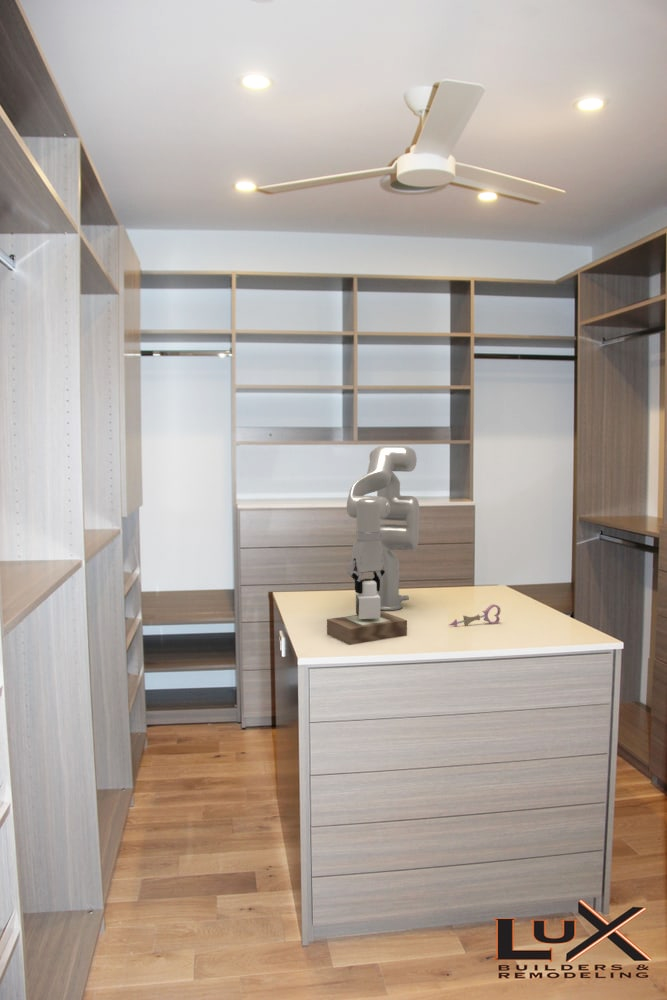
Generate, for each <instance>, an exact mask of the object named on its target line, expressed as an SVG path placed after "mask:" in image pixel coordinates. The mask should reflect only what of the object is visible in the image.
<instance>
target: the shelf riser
mask: <svg viewBox="0 0 667 1000" xmlns="http://www.w3.org/2000/svg"><path fill="white" fill-rule="evenodd" d="M326 635H327V636H330V637H332V638H335V639H336V640H339V641H341V642H343V643H346V644H348V645H356V644H362V643H368V642H375V641H380V640H388V639H393V638H398V637H399V638H400V637H404V636H407V635H408V620H407V619H404V618H402V617H399V616H396V615H394V614H390V613H387V612H386V611H384V610H381V611H380V619H358V616H357V614H354V615H348V616H339V617H334V618H333V617H332V618H327V619H326Z"/></svg>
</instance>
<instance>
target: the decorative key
mask: <svg viewBox="0 0 667 1000" xmlns="http://www.w3.org/2000/svg"><path fill="white" fill-rule="evenodd" d="M500 607H501V606H498V605H497V604H495V603H494V604H490V605H489V606H488V607H487V608H485V609H484V610H483V611H482V613H483V614H482V615H480V613H479V614H477V615H474V616H468V615H464V614H463V615H462V617H463V620H459V621H457V619H456V618H454V620H453V621H452V622H451V623H449V624H448V626H453V627H456V628H457V627H458V624H462V623H463V624H464V626H465V627H468V626H469V624H471V623H472V622H474V621H480V620H481V618H483V621H484V622H487V623H489V624H491V625H497V624H498V623H500V620H501V619H500V617H499V616H500V615H501V608H500ZM493 608H496V609H497V611H496V613H495V614H494V615H493V616H494V617H495V618H496V620H495V621H491V620H490V619H489V612H490V611H491V610H492V609H493Z"/></svg>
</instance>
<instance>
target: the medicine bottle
mask: <svg viewBox="0 0 667 1000" xmlns="http://www.w3.org/2000/svg"><path fill="white" fill-rule="evenodd" d="M361 581H362V594H359V593H356V592H355V613H356V614H355V615H357V616H358V619H380V612H381V610H380V596H379V595H378V593H377V581H376V580H373V578H362V579H361Z"/></svg>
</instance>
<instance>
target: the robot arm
mask: <svg viewBox="0 0 667 1000" xmlns="http://www.w3.org/2000/svg"><path fill="white" fill-rule="evenodd" d="M416 466H417V455H416V451H415V450H414V449H413V448H411V447H409V446H405V445H381V446H380V445H379V446H376V447H375V448H373V450H371V451H370V453H369V465H368V468H367V472H366V474H364V475H363V476H362V477H359V479H358V480H356V481H355V482H354V483H353V484H352V485H351V487H350V490H349V491H348V492H349V494H348V497H347V500H346V513H347V515H348V516H349V517H350V518H352V519H356V537H355V540H354V541H353V544H352V549H351V558H350V561H351V562H350V565H349V566H348V568H347V569H346V572H347V573H348V575H349V576H350V577H351V579H353V581H354V593H355V594H356V593H359V594H362V581H361V580H362V579H363V576H364V575H363V574H364V573H372V574H373V577H372V579H373V580H376V581H377V593H378V595H379V596H380V611H384V612H386V611H389V612H390V611H397V610H401V609H403V607H404V606H403V601H409V599H410V597H409V595H408V594H407V595H402V594H399V593H400V592H399V590H400V589H399V588H400V585H399V583H400V561H399V558H398V557H397V555H396V553H395V552H394V551H415V550H416V549H417V547H418V545H419V537H420V533H419V532H420V504H419V500H418V499H417V497H415V496H411V495H401V492H400V491H401V483H400V482H401V481H400V480H399V478H398V476H397V475H396V474H395V473H394V472H401V473H404V472H408V473H410V472H413V471H414V470H415V469H416ZM374 492H377V493H376V494H377V495H376V496H375V495H373V496H372V495H368V494H372V493H374ZM381 520H382V521H391V522H394V521H395V522H396V521H397V522H406V524H394V523H381ZM380 523H381V524H380Z"/></svg>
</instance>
